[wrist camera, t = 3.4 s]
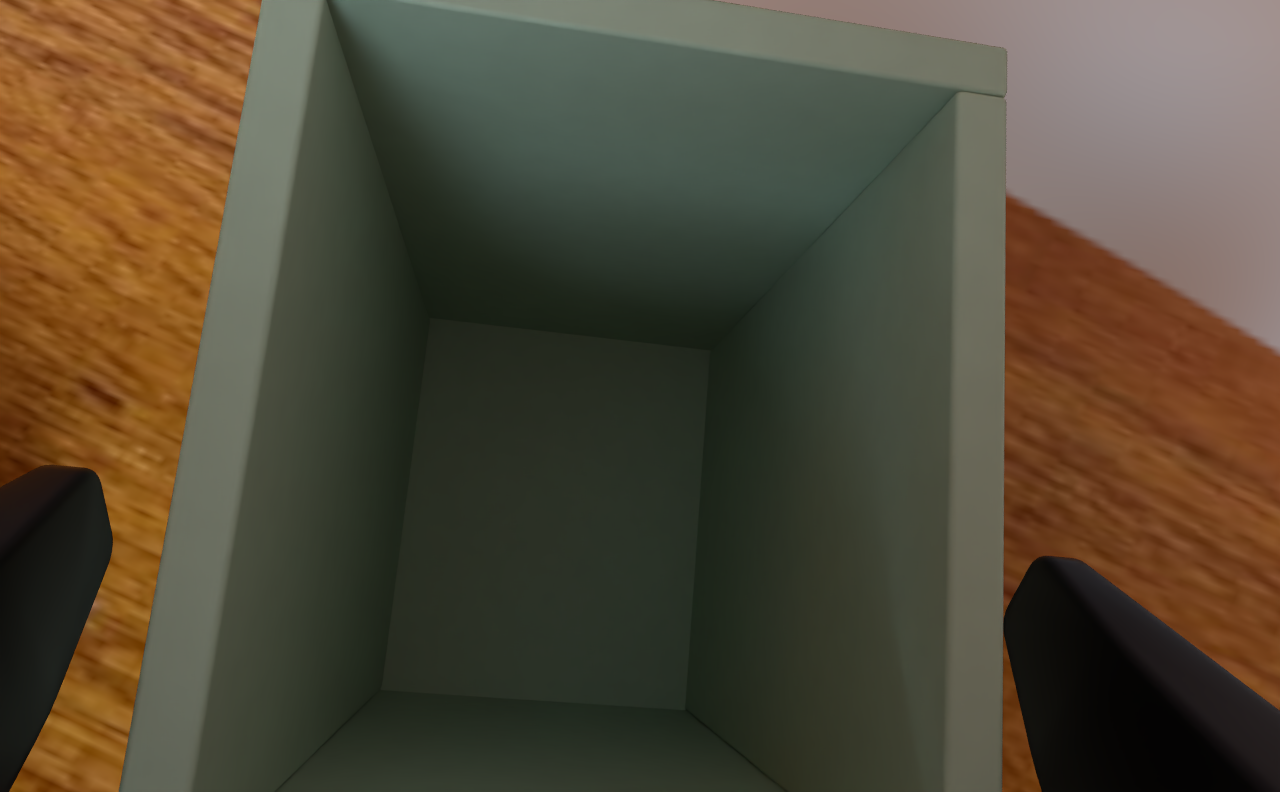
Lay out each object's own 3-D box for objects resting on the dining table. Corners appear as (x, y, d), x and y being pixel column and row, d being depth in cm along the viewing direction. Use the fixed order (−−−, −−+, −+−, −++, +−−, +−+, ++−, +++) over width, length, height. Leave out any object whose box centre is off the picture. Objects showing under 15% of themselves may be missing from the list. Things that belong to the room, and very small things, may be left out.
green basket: (703, 734, 18) (1004, 998, 7) (353, 713, 17) (82, 972, 6) (729, 335, 19) (1009, 46, 8) (410, 297, 18) (273, -75, 8)
